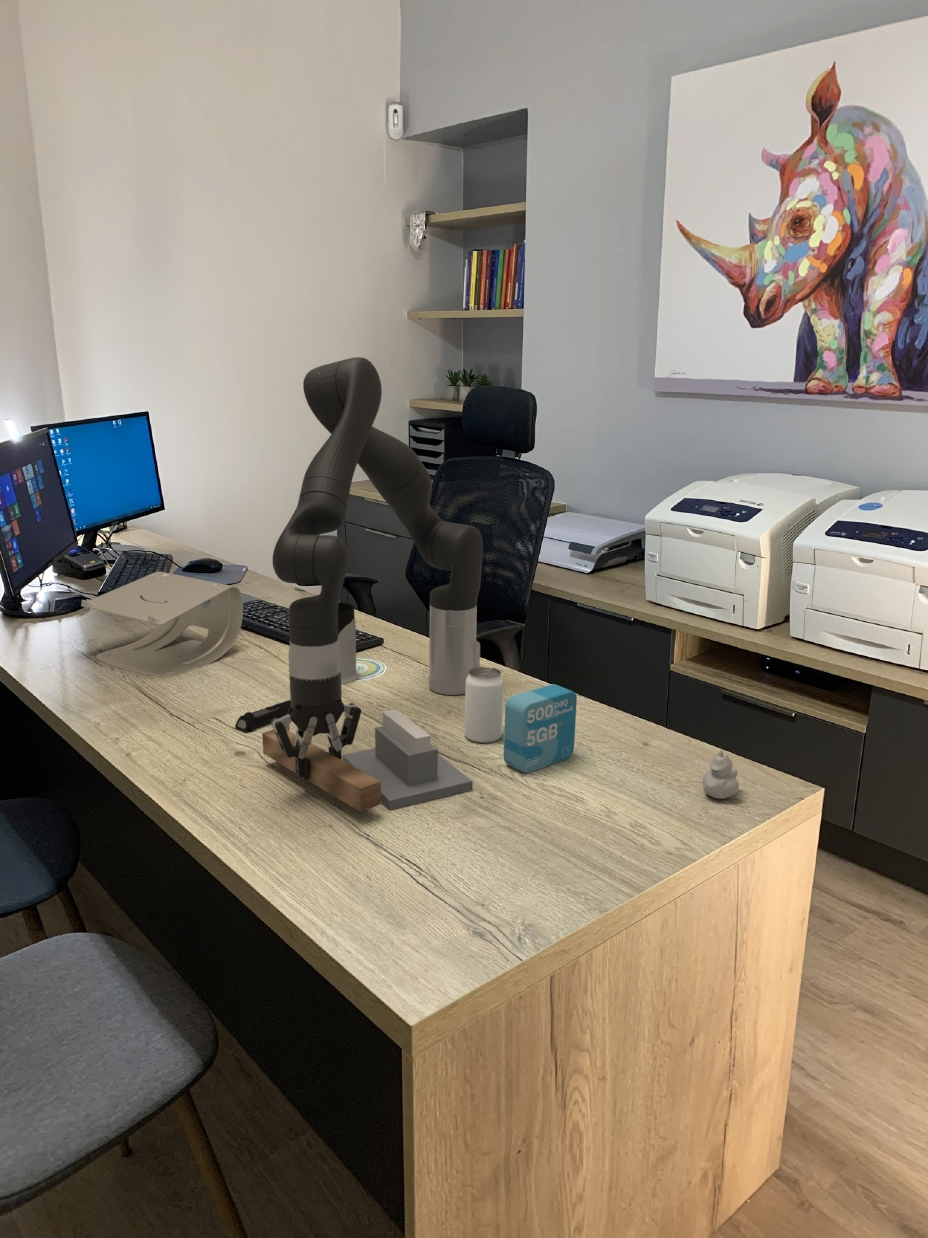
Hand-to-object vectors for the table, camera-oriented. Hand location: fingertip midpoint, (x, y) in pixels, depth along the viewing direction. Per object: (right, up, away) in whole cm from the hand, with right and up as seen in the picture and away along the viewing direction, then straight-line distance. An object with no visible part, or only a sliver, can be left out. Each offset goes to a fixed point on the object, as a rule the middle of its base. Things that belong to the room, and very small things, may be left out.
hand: (318, 774), depth 140 cm
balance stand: (+13, -1, +6) cm, 14 cm away
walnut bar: (0, 0, 0) cm, 1 cm away
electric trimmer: (-13, +5, +27) cm, 31 cm away
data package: (+34, 0, +12) cm, 36 cm away
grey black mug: (-7, +12, +50) cm, 52 cm away
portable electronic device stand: (-43, +16, +61) cm, 76 cm away
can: (+25, +3, +21) cm, 33 cm away
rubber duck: (+61, -4, +1) cm, 62 cm away
